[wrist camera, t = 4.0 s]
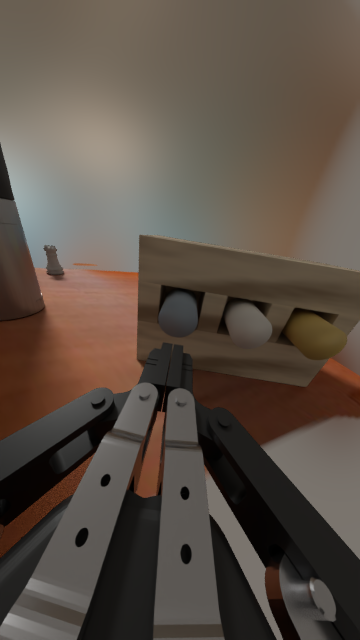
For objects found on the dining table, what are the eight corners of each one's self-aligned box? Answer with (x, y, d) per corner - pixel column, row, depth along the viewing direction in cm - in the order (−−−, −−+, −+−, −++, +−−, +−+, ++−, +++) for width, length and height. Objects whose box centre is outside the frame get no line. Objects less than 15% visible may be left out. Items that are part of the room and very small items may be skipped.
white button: (262, 351, 17) (279, 319, 15) (225, 345, 17) (237, 312, 15) (248, 327, 21) (259, 300, 19) (218, 323, 21) (227, 295, 19)
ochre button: (331, 363, 17) (356, 332, 15) (294, 357, 17) (315, 325, 15) (302, 336, 21) (319, 310, 19) (273, 332, 21) (287, 305, 19)
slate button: (193, 340, 17) (201, 306, 15) (156, 334, 17) (159, 299, 15) (193, 318, 21) (199, 290, 19) (164, 313, 21) (167, 284, 19)
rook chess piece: (46, 271, 50) (39, 244, 47) (63, 271, 53) (58, 245, 49) (46, 275, 47) (39, 246, 44) (64, 274, 50) (59, 247, 46)
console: (306, 387, 23) (393, 277, 15) (136, 359, 23) (139, 234, 15) (274, 345, 32) (319, 262, 24) (152, 324, 31) (159, 235, 24)
